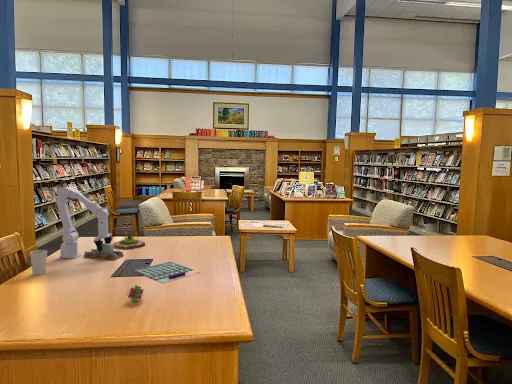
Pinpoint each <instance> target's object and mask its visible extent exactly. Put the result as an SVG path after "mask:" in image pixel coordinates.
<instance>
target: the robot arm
mask: <svg viewBox="0 0 512 384" xmlns="http://www.w3.org/2000/svg"><path fill="white" fill-rule="evenodd" d="M70 199H76V200H78V201H80V202H81V203H83V204H84V205H85V206H86V208H87V210H88V211H89V212H91V213H93V214H94V215H95V216H96V219H97V221H98V222H97V229H98V231H97V232H98V235H96V236H95V237H94V240H93V243H94V244H95V246H96V249H98V251H102V244H103V243H107V244H112V243H111V242H112V240H113V239H114V238H113V234H112V233H111V232H110V233H109V220H108V219H109V218H108V217H109V215H110V212H109V210H108V209H107V208H104V207H102V206H100V205H99V204H98V202H96V201H91V200H90V199H88V198H87V197H86V196H84V194H82V193H81V192H80V191H79V190H78V189H76V188H75V187H74V186H66V187H61V188H60V189H59V190H58V191H57V197H56V200H55V201H56V206H57V209H58V213H59V216H60V220H61V223H62V227H63V231H62V241H63V242H62V243H61V244H60V250H59V251H60V255H59V258H63V259H75V258H78V257H80V256H81V254H80V253H78V252H79V250H78V249H79V248H78V239H79V236H80V234H79V232H78V231H77V229H76V228H75V227H74V225H73V222H72V217H71V213H70V210H69V207H68V201H69V200H70ZM102 239H103V240H102Z"/></svg>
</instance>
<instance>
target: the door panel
mask: <svg viewBox="0 0 512 384" xmlns="http://www.w3.org/2000/svg"><path fill="white" fill-rule="evenodd" d="M96 249H97V248H96ZM113 251H114V243H110V244H107V243H105V242H103V244H102V251H98V249H97V252H101V253H113ZM113 254H114V253H113Z"/></svg>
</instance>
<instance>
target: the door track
mask: <svg viewBox="0 0 512 384" xmlns="http://www.w3.org/2000/svg"><path fill="white" fill-rule="evenodd" d="M113 253H114V254H113ZM113 253H101V252H97V248H91V249H90V251H89V250H87V251H84V255H83V257H82V258H89V259H99V260H108V261H109V260H111V261H115V260H117V259H120V258H123V257H124V256H125V254H124V252H123V251H122V250H113Z"/></svg>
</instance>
